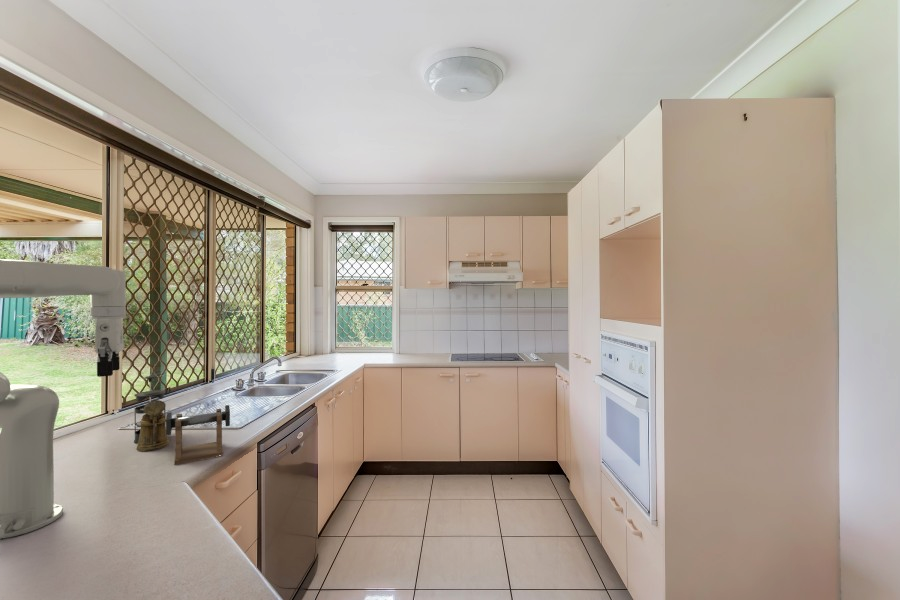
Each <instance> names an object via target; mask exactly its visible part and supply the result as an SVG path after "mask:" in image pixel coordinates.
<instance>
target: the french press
mask: <svg viewBox="0 0 900 600" xmlns="http://www.w3.org/2000/svg"><path fill="white" fill-rule="evenodd" d="M157 378H158V375H148V376H144V377H142V379H143V380H148V383H149V390H148V391H141V392H138V393H136V394H134V397H135V402H138V403H140V402H143V401H144V400H145V399H148V398H149V402H151V401H152V397H156V398H157V399H160V400H161V399H164V398H165V393H166V391H165V390H164V389H163V390H161V389H159V390H158V389H157V390H155V389H154V390H152V387H151V386H152V384H151V383H152V380H153V379H157ZM145 405H146V404H141V405H138V406H136V407H134V439H133V440H134V441H133V443H134V444H136V445H137V444H138V441H139V436H140V430H141V420H139V421H138V422H137V421H136V417H137V414H139V415H145V414H146V413H144V411H143V408H144V406H145ZM163 413H164V416H165V417H166V409H165V410H164V411H163ZM137 427H139V428H140V429H137Z"/></svg>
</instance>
